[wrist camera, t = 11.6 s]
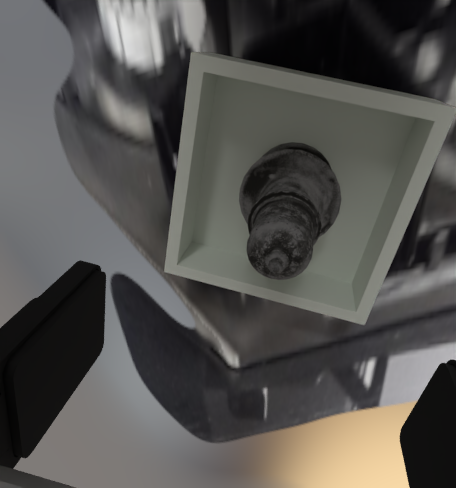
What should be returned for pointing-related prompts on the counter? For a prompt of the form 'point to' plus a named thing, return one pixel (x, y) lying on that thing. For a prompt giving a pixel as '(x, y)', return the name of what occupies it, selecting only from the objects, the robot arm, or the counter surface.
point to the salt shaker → (288, 208)
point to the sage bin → (334, 150)
